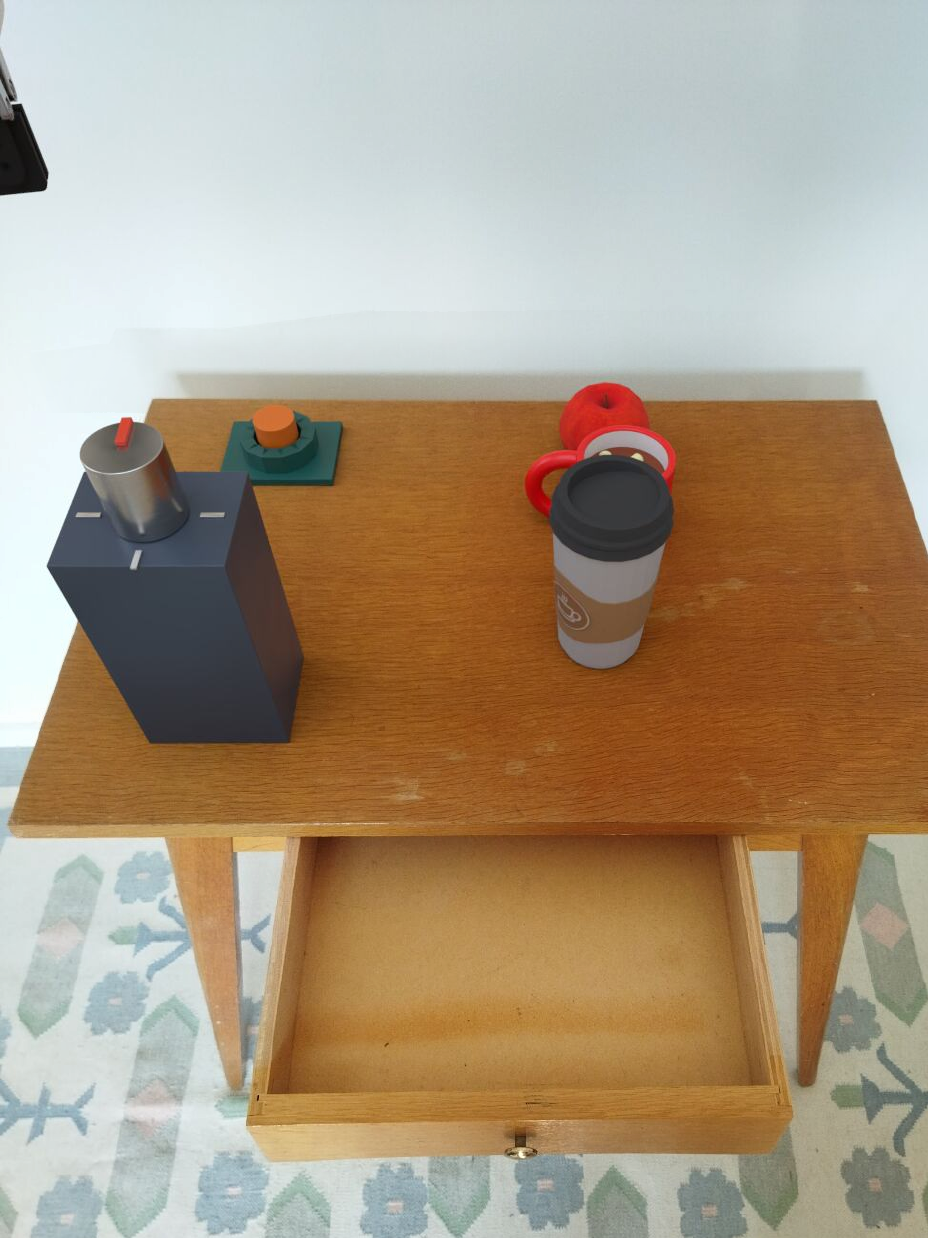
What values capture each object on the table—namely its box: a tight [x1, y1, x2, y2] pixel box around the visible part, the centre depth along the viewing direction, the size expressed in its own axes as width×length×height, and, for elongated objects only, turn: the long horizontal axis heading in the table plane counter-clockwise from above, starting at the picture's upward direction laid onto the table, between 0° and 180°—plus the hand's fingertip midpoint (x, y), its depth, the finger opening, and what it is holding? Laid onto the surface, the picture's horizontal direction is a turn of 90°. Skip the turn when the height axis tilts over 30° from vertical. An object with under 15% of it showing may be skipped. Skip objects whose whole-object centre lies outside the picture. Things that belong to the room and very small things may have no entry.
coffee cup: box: [548, 455, 675, 670], centre depth 68 cm, size 8×8×15 cm
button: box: [252, 404, 299, 448], centre depth 83 cm, size 4×4×2 cm
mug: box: [524, 425, 677, 518], centre depth 78 cm, size 8×12×8 cm, turn 85°
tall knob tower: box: [46, 471, 305, 744], centre depth 63 cm, size 10×9×18 cm
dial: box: [79, 416, 189, 542], centre depth 53 cm, size 4×4×5 cm
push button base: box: [219, 410, 344, 486], centre depth 85 cm, size 10×8×2 cm
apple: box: [558, 381, 651, 451], centre depth 83 cm, size 8×8×7 cm
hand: (21, 186), depth 55 cm, fingers closed
